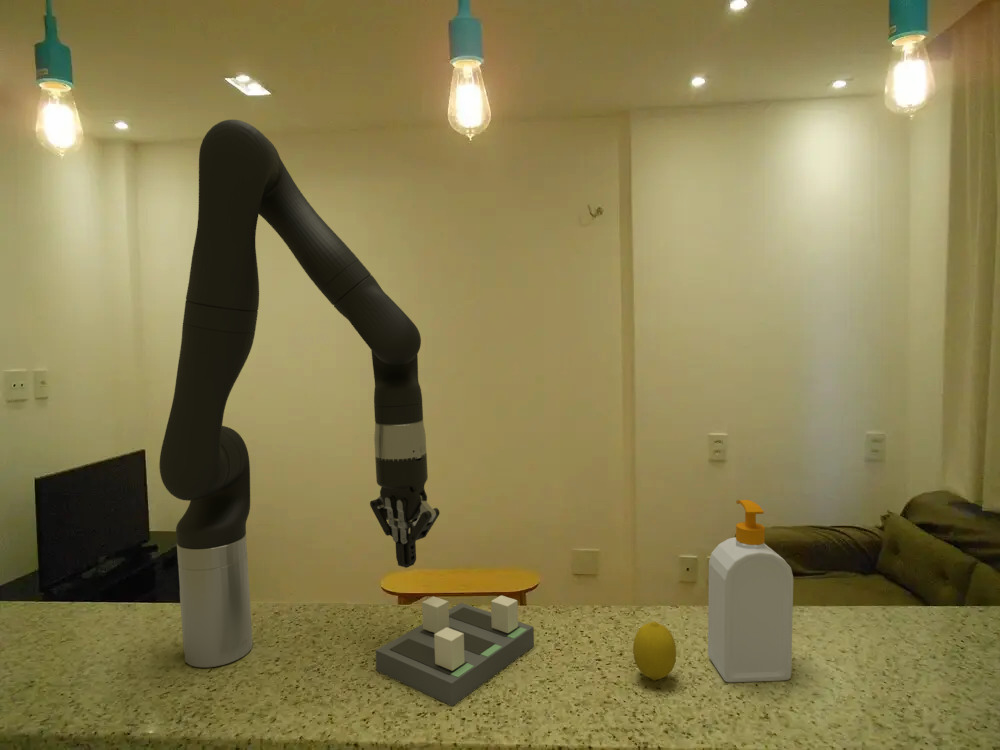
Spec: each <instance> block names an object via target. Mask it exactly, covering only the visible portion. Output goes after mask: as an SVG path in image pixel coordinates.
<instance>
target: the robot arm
mask: <svg viewBox="0 0 1000 750" xmlns="http://www.w3.org/2000/svg"><path fill="white" fill-rule="evenodd" d="M201 141H202V142H201V144H200V147H199V155H198V212H197V225H196V234H195V239H194V245H193V250H192V257H191V263H190V270H189V271H190V272H189V278H188V283H187V289H186V290H187V291H186V296H185V303H184V313H183V318H182V319H183V321H182V328H181V329H182V331H181V342H180V350H179V357H178V364H177V371H176V377H175V386H174V393H173V399H172V403H171V408H170V411H169V417H168V420H167V424H166V427H165V431H164V432H165V433H164V436H163V440H162V445H161V449H160V453H159V454H160V455H159V465H158V467H159V474H160V478H161V482H162V483H163V486H164V487H165V489H166V490H167V492H168V493H170V494H171V496H173V497H175V498H176V499H178V500H181V501H189V504H188V507H187V509H186V511H185V513H184V514H183V516H182V517H181V518H180V519H179V521H178V522H177V524H176V527H175V528H176V529H175V539H176V552H177V565H178V581H179V601H180V617H181V619H180V620H181V632H182V644H183V652H184V653H183V654H184V661H185V663H186V664H188V665H189V666H192V667H194V668H195V667H196V668H213V667H220V666H224V665H228V664H231V663H233V662H235V661H237V660H239V659H241V658H243V657H244V656H247V654H248V653H249V652H250V651H251V650H252V648H253V629H252V628H253V627H252V611H251V593H250V579H249V578H250V577H249V563H248V562H249V561H248V546H247V545H248V544H247V527H246V526H247V520H248V517H249V514H250V510H251V463H250V456H249V451H248V446H247V444H246V443H245V440H244V439H243V438H242V436H241V434H239V433H238V432H237V431H236V430H234V429H233V428H231V427H228V426H225V425H223V421H224V414H225V409H226V405H227V402H228V399H229V396H230V394H231V392H232V390H233V387H234V385H235V383H236V381H237V380H238V378H239V376H240V374H241V372H242V370H243V368H244V366H245V364H246V362H247V359H248V358H249V356H250V353H251V351H252V347H253V344H254V341H255V334H256V327H257V322H258V321H257V320H258V316H259V315H258V314H259V311H258V310H259V306H260V303H259V302H260V281H259V271H258V260H257V259H258V257H257V251H256V250H257V249H256V248H257V247H256V233H257V224H258V219H259V215H260V217H262V218H263V219H264V220H265V222H267V223H268V225H270V227H272V229H273V230H274V231H275V232H276V233H277V235H278V236H279V237H280V238H281V240H282V241H283V242H284V243H285V245H286V247H288V249H289V250H290V252H291V254H292V255H293V257H294V258H295V259H296V261H297V262H298V264H299V265H300V267H301V268H302V270H303V271H304V273H306V275H307V276H308V277H309V279H310V280H311V282H312V283H313V284H314V285H315V286H316V287H317V288H318V290H319V291H320V292H321V293H322V294H323V296H324V297H325V298H326V299H327V300H328V301H329V303H330V304H331V305H332V306H333V307H334V308H335V309H336V310H337V311H338V313H339V314H340V315H342V316H343V317H344V318H345V319H346V320H347V321H348V322H349V324H351V326H352V328H354V330H355V331H356V332H357V334H358V335H359V336H360V337H361V339H362V340H363V342H364V343H365V344H366V345H367V347H368V348H369V349H370V352H371V361H372V368H373V369H372V370H373V378H374V390H373V391H374V392H373V393H374V394H373V410H374V423H375V424H374V437H373V438H374V439H373V440H374V441H373V442H374V456H375V457H374V459H375V461H374V462H375V476H376V484H377V485H378V486H379V487H380V491H379V496H378V497H377V498H376V499H373V500H371V501H369V506H370V509H372V512H373V513H374V516H375V517H376V519H377V521H378V523H379V525H380V527H381V529H382V531H383V532H384V534H385V536H387V537H389V536H391V537H392V540H393V542H394V543H395V558H396V561H397V565H398V566H399V567H402V568H410V567H412V566H414V564H415V563H416V561H417V548H416V547H417V545H416V544H417V543H416V542H417V541H418V540H421V539H425V538H426V537H427V535H428V533H429V532H430V530H431V529H432V527H433V526H434V524H435V522H436V521H437V519H438V517H440V516H439V515H440V514H441V513H440V510H439V509H438V507H435V508H432V507H431V505H430V504H429V503H428V495H427V492H426V491H425V484H426V483H427V481H428V458H427V457H428V455H427V437H426V436H427V435H426V430H425V425H424V424H425V423H424V413H423V412H424V410H423V408H424V407H423V395H422V394H423V393H422V388H421V385H420V383H419V365H418V364H419V362H418V359H419V357H418V354H419V351H420V349H421V345H422V339H421V338H422V337H421V334H420V331H419V329H418V327H417V326H416V325H415V323H414V322H413V320H412V319H411V318H410V317H409V315H407V314H406V313H405V312H404V311H403V310H402V308H401V307H400V306H399V305H397V304H396V302H394V300H393V299H392V298H391V297H390V296H389V295H388V294H387V293H386V292H385V291H384V290H383V289H382V288H381V286H380V284H379V282H378V281H377V280H376V278H375V277H374V276H373V275H372V274H371V272H370V271H369V270H368V268H366V266H365V265H364V264H363V263H362V261H361V260H360V259H359V258H358V256H357V255H356V254H355V253H354V252H353V251H352V250H351V249H350V247H349V246H348V245H347V244H346V243H345V242H344V241H343V240H342V239H341V238H340V237H339V236H338V235H337V233H335V231H334V230H333V229H332V228H331V227H330V226H329V225H328V224H327V223H326V221H325V220H324V219H323V218H322V217H321V216H320V215H319V214H318V213H317V211H316V210H315V209H314V207H312V205H311V203H309V202H308V200H307V198H306V197H305V196H304V195H303V193H302V192H301V189H300V188H299V187H298V186H297V184H296V182H295V181H294V179H293V177H292V176H291V174H290V172H289V171H288V168H287V167H286V166H285V164H284V163H283V160H282V159H281V157H280V154H279V152H278V149H277V148H276V146H274V144H273V142H272V141H271V140H270V139H269V138H267V137H266V136H265V135H264V133H262V132H261V131H260V130H259V129H257V128H256V127H255V126H253V125H252V124H250V123H248V122H245V121H243V120H239V119H226V120H223V121H219V122H217V123H216V124H215V125H213V126H212V127H211V128H210V129H209V130H208V131H207V132H206V134H205V135H204V136H203V139H202V140H201Z"/></svg>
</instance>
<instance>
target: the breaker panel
mask: <svg viewBox="0 0 1000 750" xmlns="http://www.w3.org/2000/svg"><path fill="white" fill-rule="evenodd" d="M449 628H450V629H453V630H456V631H458V632H461V633H464V663H463V664H462V665H460V666H459V667H457V668H456V669H454V670H453V671H451V670H449V669H447V668H444V667H442V666H440V665H437V664H435V643H434V634H436V633H433V632H431V631H428V630H425V629H423V623H421V624H420V625H419V626H417V627H415V628H413V629H412V630H409V631H407V632H406V633H404V634H402V635H401V636H398V637H397V638H395V639H392V640H391V641H390V642H388V643H386V644H384V645H381V647H378V648H377V649H375V667H376V671H377V672H378V673H380V672H381V673H380V674H382V675H384V676H386V675H387V676H386V677H389V678H391V679H393V678H394V679H393V680H395V679H396V680H395V681H397V680H398V681H397V682H399V681H400V682H399V683H401V684H404V685H405V686H407V687H410V688H413V689H414V690H417V691H418V692H421V693H423V694H425V695H427V696H430V697H432V698H434V699H436V700H439V701H440V702H443V703H444V704H446V705H449V706H451V707H453V706H455V705H456V704H457V703H460V702H461V700H463V699H464V698H465V697H467V696H468V695H470V694H472V692H474V691H476V690H477V689H478V688H479V687H480V686H482V685H483V684H484V683H486V682H488V681H489V680H490V679H492V678H493V677H494V676H495V675H497V674H498V673H500V672H501V671H502V670H503V669H505V668H506V667H508V666H509V665H511V664H512V663H513V662H515V661H516V660H517V659H519V658H521V656H523V655H524V654H525V653H527V652H528V651H530V650H531V649H532V648H534V647H535V638H534V637H535V635H534V631H535V630H534V629H535V628H534V626H532V625H529V624H527V623H523V622H520V621H518V627H517V628H515V629H514V630H512V631H511V632H510V633H506V632H503V631H500V630H497V629H494V628H492V619H491V612H490V611H488V610H485V609H481V608H478V607H476V606H473V605H469V604H467V603H464V602H460V603H458V604H456V605H454V606H453V607H451V608H449Z"/></svg>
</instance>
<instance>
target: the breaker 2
mask: <svg viewBox="0 0 1000 750" xmlns="http://www.w3.org/2000/svg"><path fill="white" fill-rule="evenodd" d="M518 601H519V600H517V599H515V598H511V597H507V596H505V595H499V596H498V597H495V598H494V599H492V600H491V601H490V605H491V606H490V609H491V610H490V611H491V619H492V628H494V629H497V630H500V631H503V632H506V633H510V632H511V631H512V630H514V629H515V628H517V627H518V622H519V618H518V617H519V615H518V614H519V610H518V609H519V607H518V603H519V602H518Z"/></svg>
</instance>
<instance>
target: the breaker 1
mask: <svg viewBox="0 0 1000 750" xmlns="http://www.w3.org/2000/svg"><path fill="white" fill-rule="evenodd" d="M434 643H435V664H437V665H440V666H442V667H444V668H447V669H449V670H451V671H453V670H454V669H456V668H457V667H459V666H460V665H462V664H463V663H464V633H461V632H458V631H456V630H453V629H450V628H447V627H446V628H444V629H443V630H441V631H439V632H437V633H436V634H434Z"/></svg>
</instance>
